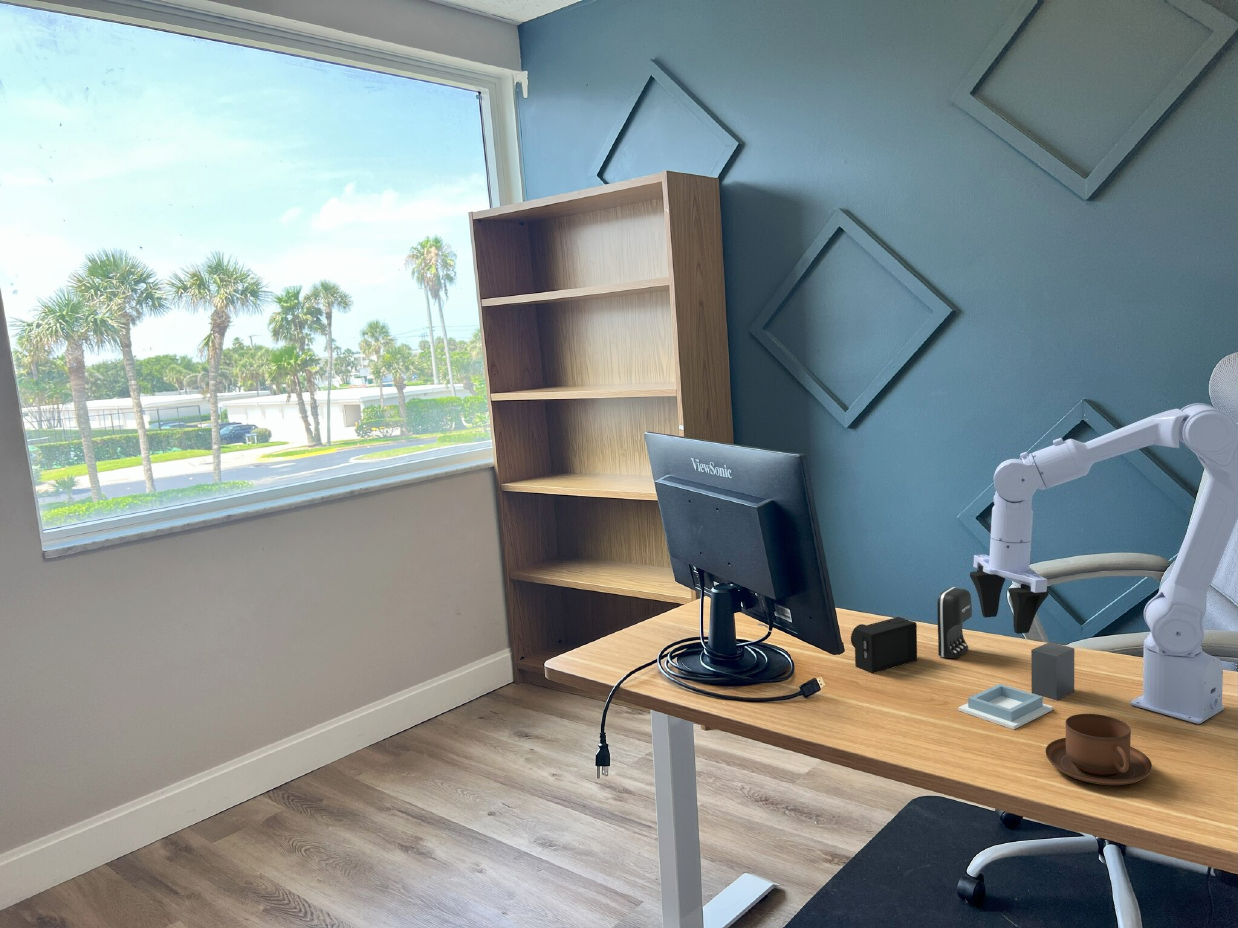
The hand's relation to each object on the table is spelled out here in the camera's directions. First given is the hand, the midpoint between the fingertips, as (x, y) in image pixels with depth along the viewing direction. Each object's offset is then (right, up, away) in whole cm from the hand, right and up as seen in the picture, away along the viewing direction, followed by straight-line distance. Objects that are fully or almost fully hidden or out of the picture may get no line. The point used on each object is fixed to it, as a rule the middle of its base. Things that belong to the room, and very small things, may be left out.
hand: (1005, 624), depth 140 cm
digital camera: (-14, -10, +17) cm, 24 cm away
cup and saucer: (+1, -15, -24) cm, 28 cm away
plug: (+7, -11, 0) cm, 13 cm away
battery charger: (-1, -9, +19) cm, 21 cm away
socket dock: (-2, -12, -5) cm, 13 cm away
